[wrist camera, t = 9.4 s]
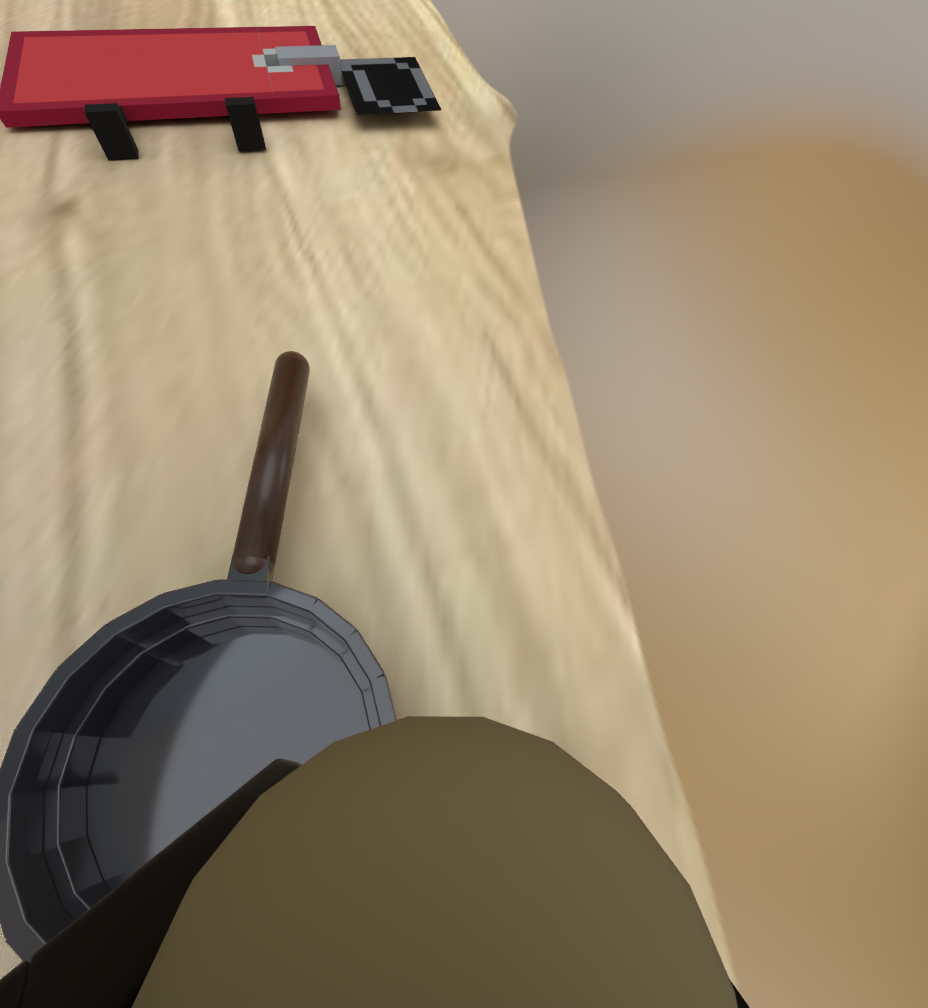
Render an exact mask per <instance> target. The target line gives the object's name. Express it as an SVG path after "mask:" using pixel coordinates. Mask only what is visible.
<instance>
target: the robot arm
mask: <svg viewBox="0 0 928 1008" xmlns="http://www.w3.org/2000/svg"><path fill="white" fill-rule="evenodd" d="M300 766H301V764H300V763H298V762H294V761H290V760H286V759H281V758H279V759H276V760H274V761H273V762H271V763H270V764H269V765H268V766H266V767H265V768H264V769H263V770H261V771H260V772H259V773H258V774H257V775H255V776H254V777H253V778H252V779H250V780H249V781H248V782H247V783H245V784H244V785H243V786H242V787H240V788H239V789H238V790H237V791H235V792H234V793H233V794H232V795H230V796H229V797H228V798H227V799H225V800H224V801H223V802H222V803H220V804H219V805H218V806H217V807H215V808H214V809H213V810H212V811H210V812H209V813H208V814H207V815H205V816H204V817H203V818H202V819H200V820H199V821H198V822H197V823H195V824H194V825H193V826H192V827H190V828H189V829H188V830H187V831H185V832H184V833H183V834H182V835H181V836H179V837H178V838H177V839H176V840H174V841H173V842H172V843H171V844H169V845H168V846H167V847H166V848H164V849H163V850H162V851H161V852H159V853H158V854H157V855H156V856H154V857H153V858H152V859H151V860H149V861H148V862H147V863H146V864H144V865H143V866H142V867H141V868H139V869H138V870H137V871H136V872H134V873H133V874H132V875H131V876H129V877H128V878H127V879H126V880H124V881H123V882H122V883H121V884H119V885H118V886H117V887H116V888H114V889H113V890H112V891H111V892H109V893H108V894H107V895H106V896H104V897H103V898H102V899H101V900H99V901H98V902H97V903H96V904H95V905H93V906H92V907H91V908H90V909H88V910H87V911H86V912H85V913H83V914H82V915H81V916H80V917H78V918H77V919H76V920H75V921H73V922H72V923H71V924H70V925H68V926H67V927H66V928H65V929H63V930H62V931H61V932H60V933H58V934H57V935H56V936H55V937H53V938H52V939H51V940H50V941H48V942H47V943H46V944H45V945H43V946H42V947H41V948H40V949H38V950H37V951H36V952H35V953H34V954H33V955H32V956H31V959H30V963H29V961H23V962H22V963H20V964H19V965H18V966H17V967H15V968H14V969H13V970H12V971H10V972H9V973H8V974H7V975H6V976H4V977H3V978H2V979H1V980H0V1008H132V1006H133V1004H134V1002H135V999H136V997H137V995H138V993H139V991H140V989H141V987H142V985H143V982H144V980H145V978H146V976H147V974H148V972H149V970H150V968H151V965H152V963H153V961H154V959H155V957H156V955H157V953H158V951H159V948H160V946H161V944H162V942H163V940H164V938H165V936H166V934H167V932H168V929H169V927H170V925H171V923H172V921H173V919H174V917H175V915H176V912H177V910H178V908H179V906H180V904H181V902H182V900H183V898H184V896H185V894H186V892H187V890H188V888H189V886H190V884H191V882H192V880H193V878H194V877H195V876H196V875H197V873H198V872H199V871H200V870H201V868H202V867H203V866H204V865H205V863H206V862H207V861H208V860H209V858H210V857H211V856H212V855H213V853H214V852H215V851H216V850H217V848H218V847H219V846H220V845H221V843H222V842H223V841H224V840H225V839H226V837H227V836H228V835H229V834H230V832H231V831H232V830H233V829H234V827H235V826H236V825H237V824H238V822H239V821H240V820H241V819H242V817H243V816H244V815H245V814H246V812H247V811H248V810H249V809H250V807H251V806H252V805H253V804H254V802H255V801H256V800H257V799H258V797H259V796H260V795H261V794H263V793H264V792H266V791H267V790H268V789H270V788H271V787H272V786H274V785H275V784H277V783H278V782H279V781H281V780H282V779H283V778H285V777H286V776H287V775H289V774H290V773H292V772H293V771H294V770H296V769H297V768H298V767H300ZM730 982H731V980H730ZM731 984H732V987H733V989H734V991H735V996H736V1001H737V1006H738V1008H749V1006H748V1005H747V1003H746V1002H745V1001H744V999H743V998H742V996H741V995H740V993H739V992H738V990H737V989H736V988H735V986H734V985H733V983H732V982H731Z"/></svg>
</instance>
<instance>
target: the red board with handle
mask: <svg viewBox="0 0 928 1008" xmlns="http://www.w3.org/2000/svg"><path fill="white" fill-rule="evenodd" d="M341 72H342V75H343V78H344V80H345V83H346V86H347V89H348V91H349V94H350V97H351V100H352V102H353V105H354V108H355V111H356V113H357V115H367V114H385V113H402V112H420V111H438V110H441V108H440V106H439V104H438V102H437V100H436V98H435V96H434V94H433V92H432V90H431V88H430V86H429V84H428V82H427V80H426V78H425V76H424V74H423V72H422V70H421V68H420V66H419V64H418V62H417V60H416V58H415V57H402V58H372V59H342V60H340V56H339V54H338V51H337V48H336V46H335V45H321V42H320V39H319V36H318V33H317V30H316V27H315V26H286V27H233V28H181V29H129V30H76V31H24V32H11V37H10V42H9V47H8V52H7V57H6V62H5V67H4V72H3V77H2V82H1V87H0V119H1V121H2V122H3V124H4V125H5V127H6V128H7V127H25V126H44V125H63V124H81V123H90V125H91V127H92V129H93V131H94V133H95V135H96V137H97V139H98V141H99V143H100V145H101V147H102V149H103V150H104V152H105V154H106V156H107V158H108V160H117V159H132V158H138V148H137V146H136V144H135V142H134V140H133V137H132V135H131V133H130V131H129V129H128V126H127V124H126V123H127V121H137V120H156V119H175V118H194V117H212V116H229V119H230V122H231V126H232V129H233V133H234V136H235V140H236V143H237V147H238V150H239V151H250V150H265V149H266V147H265V142H264V138H263V134H262V130H261V126H260V121H259V117H258V114H268V113H287V112H306V111H324V110H341V107H340V98H339V93H338V90H337V88H336V85H343V84H342V75H341Z"/></svg>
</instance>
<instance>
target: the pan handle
mask: <svg viewBox="0 0 928 1008" xmlns="http://www.w3.org/2000/svg"><path fill="white" fill-rule="evenodd" d="M309 371H310V369H309V364H308V362H307V360H306V358H305V357H304V356H303V355H301V354H300V353H297V352H294V351H288V352H284V353H282V354H281V355H280V356H279V357H278V358H277V360H276V362H275V366H274V371H273V376H272V380H271V385H270V389H269V394H268V398H267V403H266V407H265V412H264V416H263V421H262V425H261V430H260V435H259V439H258V444H257V448H256V453H255V457H254V462H253V466H252V471H251V475H250V480H249V484H248V489H247V493H246V498H245V503H244V507H243V512H242V516H241V521H240V525H239V530H238V534H237V539H236V543H235V548H234V552H233V556H232V560H231V565H230V569H229V574H228V578H227V580H249V581H270V582H272V578H273V572H274V567H275V562H276V556H277V551H278V545H279V540H280V534H281V528H282V523H283V517H284V512H285V506H286V500H287V495H288V489H289V484H290V478H291V473H292V467H293V461H294V456H295V450H296V445H297V439H298V433H299V428H300V422H301V417H302V411H303V405H304V400H305V394H306V389H307V383H308V377H309Z"/></svg>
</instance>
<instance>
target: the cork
mask: <svg viewBox="0 0 928 1008" xmlns="http://www.w3.org/2000/svg"><path fill="white" fill-rule="evenodd" d="M132 1008H738V1006H737V1001H736V996H735V991H734V989H733V987H732V984H731V982H730V979H729V977H728V975H727V972H726V970H725V968H724V965H723V963H722V961H721V958H720V956H719V953H718V951H717V949H716V946H715V944H714V942H713V939H712V937H711V935H710V932H709V930H708V927H707V925H706V923H705V920H704V918H703V916H702V913H701V911H700V908H699V906H698V904H697V901H696V899H695V897H694V894H693V892H692V890H691V887H690V885H689V884H688V882H687V881H686V880H685V878H684V877H683V876H682V874H681V873H680V872H679V870H678V869H677V867H676V866H675V865H674V863H673V862H672V861H671V859H670V858H669V857H668V855H667V854H666V853H665V851H664V850H663V849H662V847H661V846H660V845H659V843H658V842H657V840H656V839H655V838H654V836H653V835H652V834H651V832H650V831H649V830H648V828H647V827H646V826H645V824H644V823H643V822H642V820H641V819H640V817H639V816H638V815H637V813H636V812H635V811H634V809H633V808H632V807H631V805H630V804H629V803H628V802H627V801H626V800H625V799H624V798H623V797H622V796H621V795H620V794H619V793H618V792H617V791H616V790H614V789H613V788H612V787H611V786H609V785H608V784H607V783H605V782H604V781H603V780H602V779H600V778H599V777H598V776H596V775H595V774H594V773H592V772H591V771H590V770H589V769H587V768H586V767H585V766H583V765H582V764H581V763H580V762H578V761H577V760H576V759H574V758H573V757H572V756H570V755H569V754H568V753H567V752H565V751H564V750H563V749H561V748H560V747H559V746H558V745H556V744H555V743H554V742H552V741H549V740H546V739H543V738H540V737H538V736H535V735H532V734H529V733H526V732H524V731H521V730H518V729H515V728H512V727H510V726H507V725H504V724H501V723H498V722H496V721H493V720H490V719H487V718H484V717H406V718H403V719H400V720H397V721H394V722H391V723H388V724H385V725H382V726H379V727H376V728H373V729H370V730H367V731H365V732H362V733H359V734H356V735H353V736H350V737H347V738H344V739H341V740H338V741H335V742H333V743H331V744H330V745H329V746H327V747H326V748H325V749H323V750H322V751H320V752H319V753H318V754H316V755H315V756H314V757H312V758H311V759H309V760H308V761H307V762H305V763H304V764H303V765H301V766H300V767H298V768H297V769H296V770H294V771H293V772H292V773H290V774H289V775H287V776H286V777H285V778H283V779H282V780H281V781H279V782H278V783H277V784H275V785H274V786H272V787H271V788H270V789H268V790H267V791H266V792H264V793H263V794H261V795H260V796H259V797H258V799H257V800H256V801H255V802H254V804H253V805H252V806H251V807H250V809H249V810H248V811H247V812H246V814H245V815H244V816H243V817H242V819H241V820H240V821H239V822H238V824H237V825H236V826H235V827H234V829H233V830H232V831H231V832H230V834H229V835H228V836H227V837H226V839H225V840H224V841H223V842H222V843H221V845H220V846H219V847H218V848H217V850H216V851H215V852H214V853H213V855H212V856H211V857H210V858H209V860H208V861H207V862H206V863H205V865H204V866H203V867H202V868H201V870H200V871H199V872H198V873H197V875H196V876H195V877H194V878H193V880H192V882H191V884H190V886H189V888H188V890H187V892H186V894H185V896H184V898H183V900H182V902H181V904H180V906H179V908H178V910H177V912H176V915H175V917H174V919H173V921H172V923H171V925H170V927H169V929H168V932H167V934H166V936H165V938H164V940H163V942H162V944H161V946H160V948H159V951H158V953H157V955H156V957H155V959H154V961H153V963H152V965H151V968H150V970H149V972H148V974H147V976H146V978H145V980H144V982H143V985H142V987H141V989H140V991H139V993H138V995H137V997H136V999H135V1002H134V1004H133V1006H132Z"/></svg>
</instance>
